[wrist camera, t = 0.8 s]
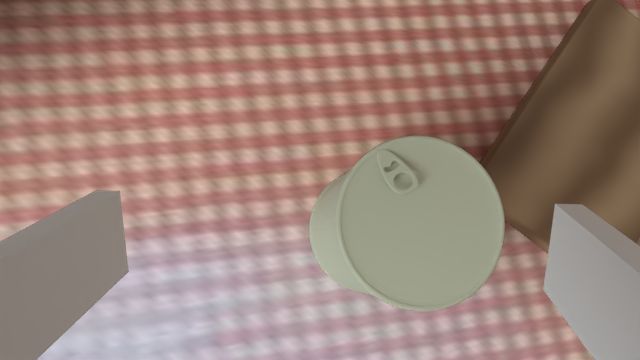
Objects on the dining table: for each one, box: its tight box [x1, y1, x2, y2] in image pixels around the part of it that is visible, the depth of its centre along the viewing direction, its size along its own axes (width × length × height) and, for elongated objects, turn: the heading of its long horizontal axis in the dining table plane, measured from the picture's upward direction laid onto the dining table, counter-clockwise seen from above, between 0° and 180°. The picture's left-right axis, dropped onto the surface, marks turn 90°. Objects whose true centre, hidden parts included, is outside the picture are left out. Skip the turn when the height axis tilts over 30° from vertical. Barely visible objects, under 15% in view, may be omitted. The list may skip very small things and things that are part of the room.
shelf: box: [480, 0, 640, 253], centre depth 38 cm, size 14×20×5 cm
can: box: [309, 136, 505, 311], centre depth 31 cm, size 9×9×12 cm
